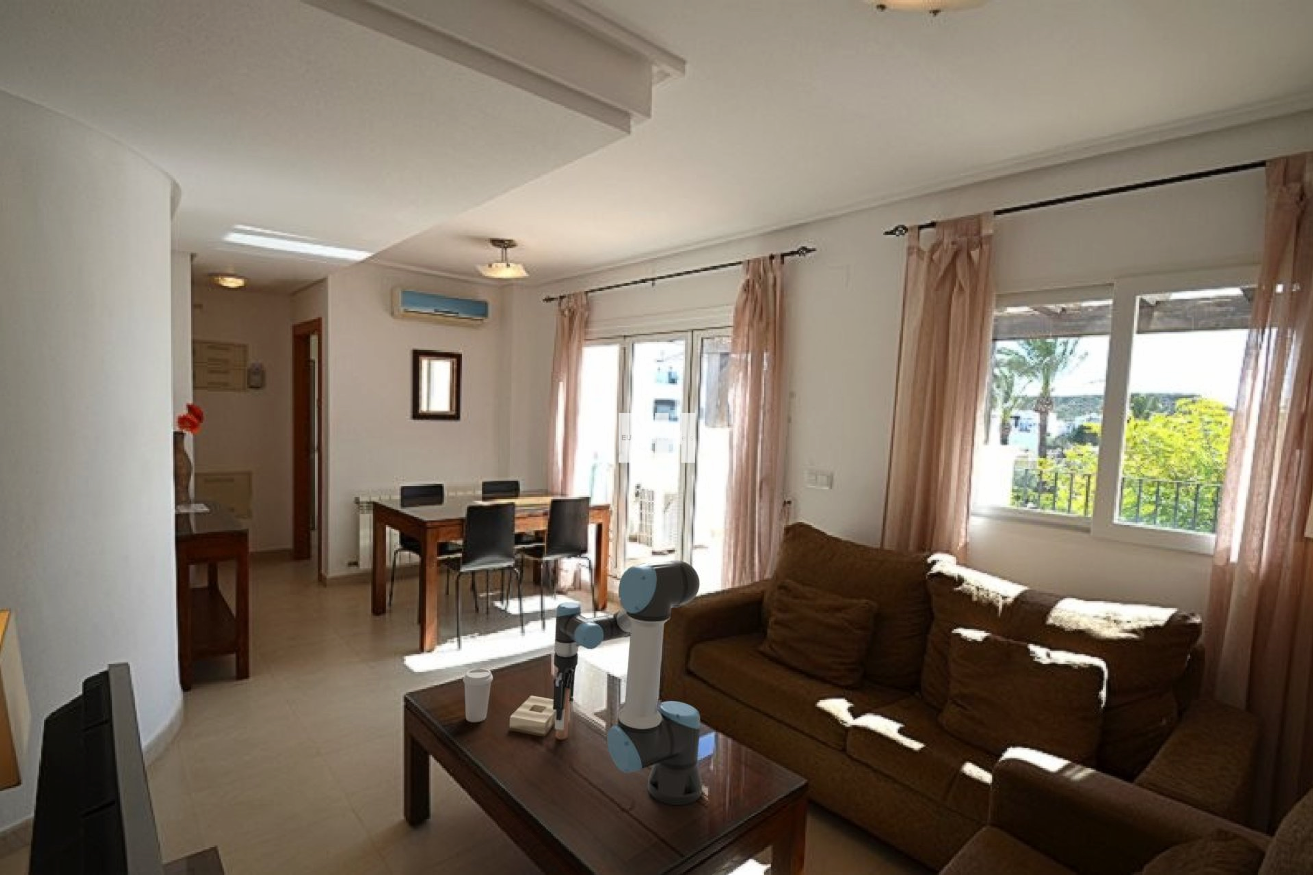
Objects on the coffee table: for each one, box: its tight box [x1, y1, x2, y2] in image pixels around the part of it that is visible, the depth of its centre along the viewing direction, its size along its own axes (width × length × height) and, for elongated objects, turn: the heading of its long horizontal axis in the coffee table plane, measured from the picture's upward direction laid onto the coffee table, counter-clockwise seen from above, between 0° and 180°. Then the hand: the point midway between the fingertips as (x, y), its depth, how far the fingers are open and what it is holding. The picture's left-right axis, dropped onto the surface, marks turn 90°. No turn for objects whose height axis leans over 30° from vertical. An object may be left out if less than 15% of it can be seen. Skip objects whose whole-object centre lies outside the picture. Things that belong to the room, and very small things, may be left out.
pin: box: [555, 688, 570, 740], centre depth 199 cm, size 4×4×15 cm
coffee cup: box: [462, 667, 494, 723], centre depth 208 cm, size 10×10×15 cm
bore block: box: [509, 695, 556, 738], centre depth 207 cm, size 16×12×4 cm
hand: (562, 725), depth 199 cm, fingers open, 4 cm apart
